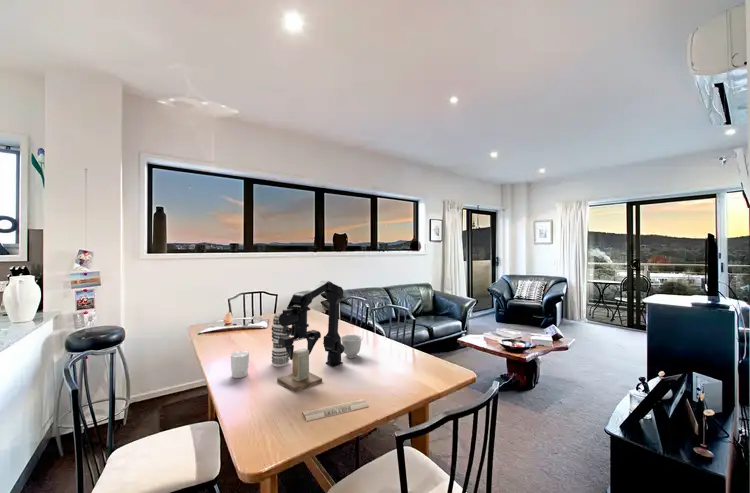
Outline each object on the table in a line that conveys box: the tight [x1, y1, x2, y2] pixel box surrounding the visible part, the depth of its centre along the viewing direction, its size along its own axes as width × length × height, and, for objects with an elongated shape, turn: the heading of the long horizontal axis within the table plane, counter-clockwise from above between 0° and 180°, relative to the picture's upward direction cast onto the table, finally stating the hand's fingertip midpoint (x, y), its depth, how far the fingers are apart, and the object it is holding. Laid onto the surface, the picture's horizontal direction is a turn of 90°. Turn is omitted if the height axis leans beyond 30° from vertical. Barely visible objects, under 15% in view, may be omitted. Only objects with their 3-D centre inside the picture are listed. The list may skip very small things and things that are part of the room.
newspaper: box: [302, 398, 369, 422], centre depth 118 cm, size 24×7×2 cm, turn 117°
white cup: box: [230, 350, 250, 379], centre depth 149 cm, size 8×8×10 cm
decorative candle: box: [270, 313, 291, 367], centre depth 165 cm, size 9×9×25 cm
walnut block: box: [276, 371, 323, 393], centre depth 143 cm, size 14×14×2 cm
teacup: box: [340, 334, 363, 359], centre depth 178 cm, size 12×15×10 cm
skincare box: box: [291, 348, 310, 381], centre depth 142 cm, size 6×4×12 cm
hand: (300, 357), depth 142 cm, fingers open, 9 cm apart
